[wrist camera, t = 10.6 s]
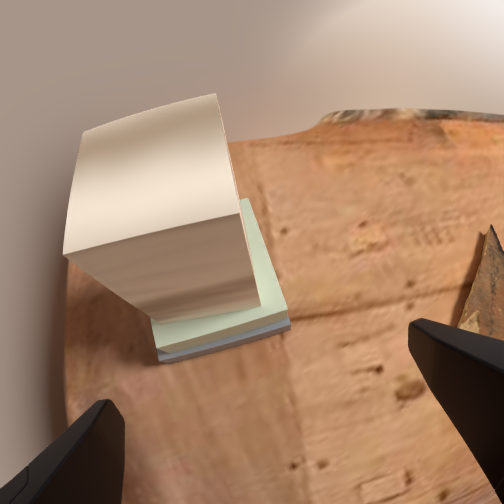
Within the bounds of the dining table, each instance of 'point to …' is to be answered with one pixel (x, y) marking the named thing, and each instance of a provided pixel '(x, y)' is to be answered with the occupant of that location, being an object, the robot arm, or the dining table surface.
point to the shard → (487, 292)
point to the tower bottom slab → (225, 342)
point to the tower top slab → (231, 323)
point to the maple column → (162, 213)
